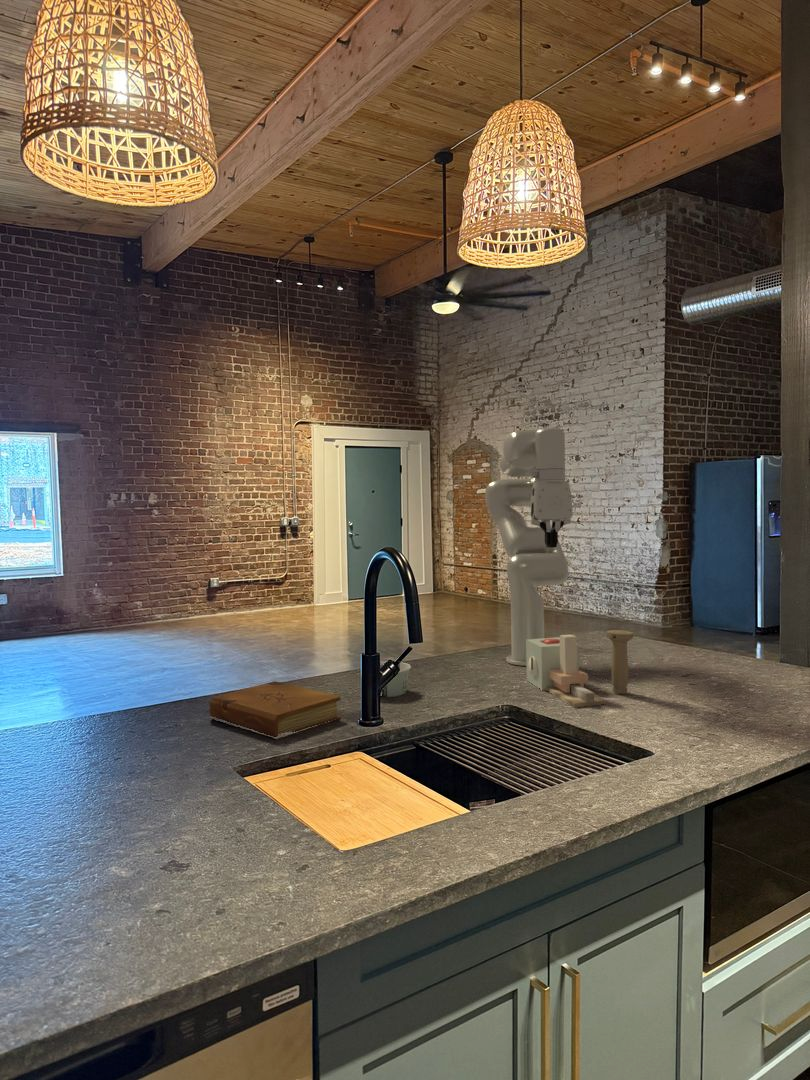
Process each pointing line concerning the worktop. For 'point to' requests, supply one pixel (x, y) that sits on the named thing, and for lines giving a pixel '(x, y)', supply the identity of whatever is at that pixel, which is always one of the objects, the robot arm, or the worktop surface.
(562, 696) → the rail
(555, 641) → the button
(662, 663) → the worktop surface
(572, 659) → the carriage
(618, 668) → the handle
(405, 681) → the food container
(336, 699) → the diary
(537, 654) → the gauge cabinet
